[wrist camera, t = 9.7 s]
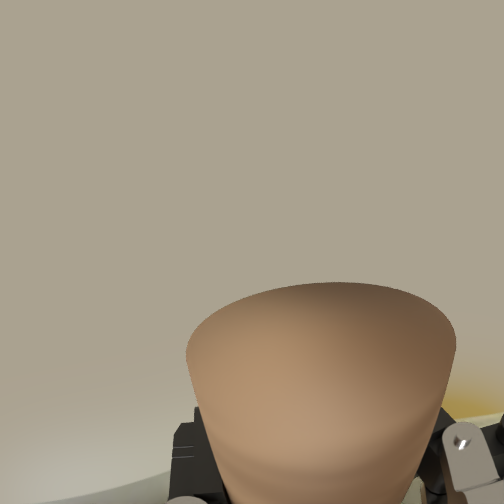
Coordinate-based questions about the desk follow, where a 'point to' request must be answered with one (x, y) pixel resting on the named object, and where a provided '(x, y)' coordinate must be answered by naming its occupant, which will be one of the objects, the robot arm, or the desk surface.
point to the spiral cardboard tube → (321, 391)
